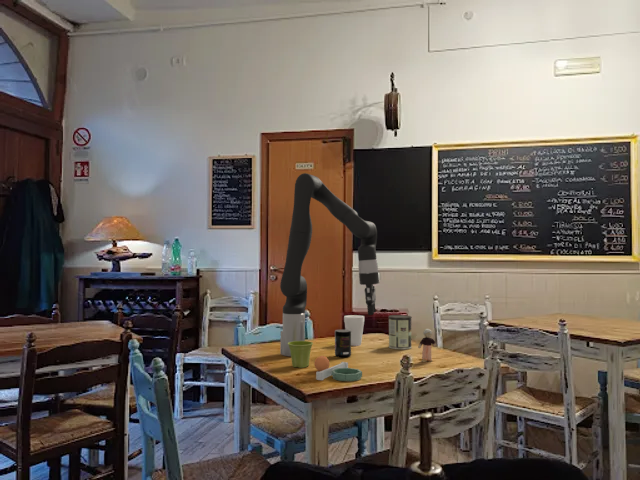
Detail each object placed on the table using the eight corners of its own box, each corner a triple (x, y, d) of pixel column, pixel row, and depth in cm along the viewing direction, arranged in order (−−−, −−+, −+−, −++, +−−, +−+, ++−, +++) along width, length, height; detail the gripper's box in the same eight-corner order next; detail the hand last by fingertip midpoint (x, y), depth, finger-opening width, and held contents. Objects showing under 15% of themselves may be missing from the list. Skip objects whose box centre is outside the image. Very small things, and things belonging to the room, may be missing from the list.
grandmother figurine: (423, 362, 196) (423, 329, 196) (417, 361, 199) (416, 328, 200) (438, 361, 199) (438, 328, 200) (432, 359, 203) (432, 327, 203)
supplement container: (345, 354, 212) (346, 329, 213) (354, 357, 206) (354, 331, 207) (331, 355, 209) (331, 330, 210) (339, 358, 203) (339, 332, 204)
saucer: (327, 378, 169) (327, 372, 169) (340, 373, 178) (340, 366, 178) (353, 382, 165) (353, 375, 165) (365, 376, 173) (365, 370, 173)
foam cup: (351, 342, 242) (351, 314, 242) (368, 344, 236) (368, 316, 237) (340, 344, 234) (340, 316, 234) (357, 347, 229) (357, 318, 229)
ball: (311, 371, 180) (311, 356, 180) (319, 368, 184) (319, 354, 184) (324, 373, 177) (324, 358, 177) (332, 370, 182) (332, 355, 182)
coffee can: (400, 344, 235) (400, 314, 236) (416, 348, 227) (416, 316, 227) (383, 346, 230) (383, 315, 230) (399, 350, 221) (399, 318, 222)
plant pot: (292, 370, 182) (293, 345, 183) (284, 364, 191) (284, 341, 191) (316, 367, 186) (316, 344, 186) (307, 362, 195) (307, 340, 195)
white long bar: (316, 379, 169) (316, 371, 169) (342, 368, 185) (342, 361, 185) (322, 380, 167) (322, 372, 167) (348, 369, 184) (348, 362, 184)
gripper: (360, 272, 204) (364, 312, 203) (356, 273, 190) (360, 316, 189) (379, 270, 203) (382, 311, 202) (376, 271, 189) (380, 315, 188)
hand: (371, 313), depth 196 cm, fingers open, 8 cm apart
